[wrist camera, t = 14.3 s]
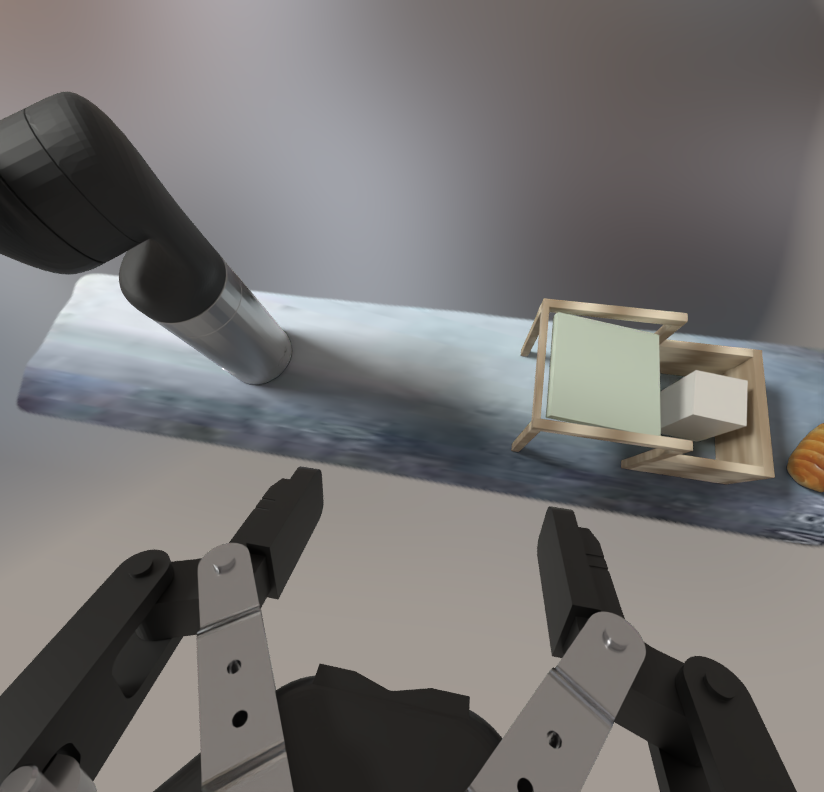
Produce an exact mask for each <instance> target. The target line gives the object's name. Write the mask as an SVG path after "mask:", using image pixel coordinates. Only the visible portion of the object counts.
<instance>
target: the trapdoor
mask: <svg viewBox="0 0 824 792" xmlns="http://www.w3.org/2000/svg"><path fill="white" fill-rule="evenodd" d="M546 418H551V419H555V420H560V421H565V422H570V423H575V424H580V425H587V426H594V427H601V428H608V429H615V430H622V431H628V432H635V433H642V434H649V435H656V436H661V421H660V361H659V335H658V334H653V333H649V332H644V331H640V330H635V329H631V328H627V327H622V326H618V325H613V324H609V323H604V322H600V321H596V320H591V319H586V318H582V317H578V316H573V315H569V314H565V313H560V312H558V313H557V314H556V315H555V316H554V317H553V329H552V342H551V356H550V369H549V383H548V396H547V410H546Z"/></svg>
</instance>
